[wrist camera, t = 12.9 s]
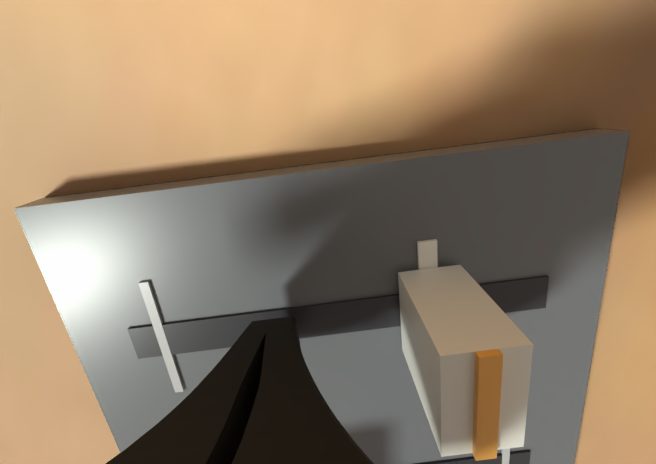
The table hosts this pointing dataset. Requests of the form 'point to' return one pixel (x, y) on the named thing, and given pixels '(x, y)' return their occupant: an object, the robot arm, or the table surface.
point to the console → (339, 278)
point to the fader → (464, 362)
